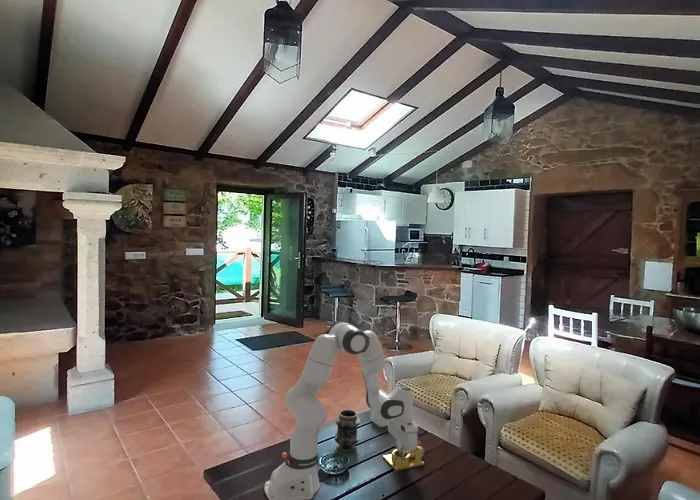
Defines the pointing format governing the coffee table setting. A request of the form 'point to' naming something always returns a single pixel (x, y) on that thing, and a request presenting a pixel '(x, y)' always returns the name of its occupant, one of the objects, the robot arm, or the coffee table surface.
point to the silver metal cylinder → (399, 449)
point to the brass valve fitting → (406, 458)
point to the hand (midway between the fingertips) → (401, 450)
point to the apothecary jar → (347, 431)
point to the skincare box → (378, 419)
